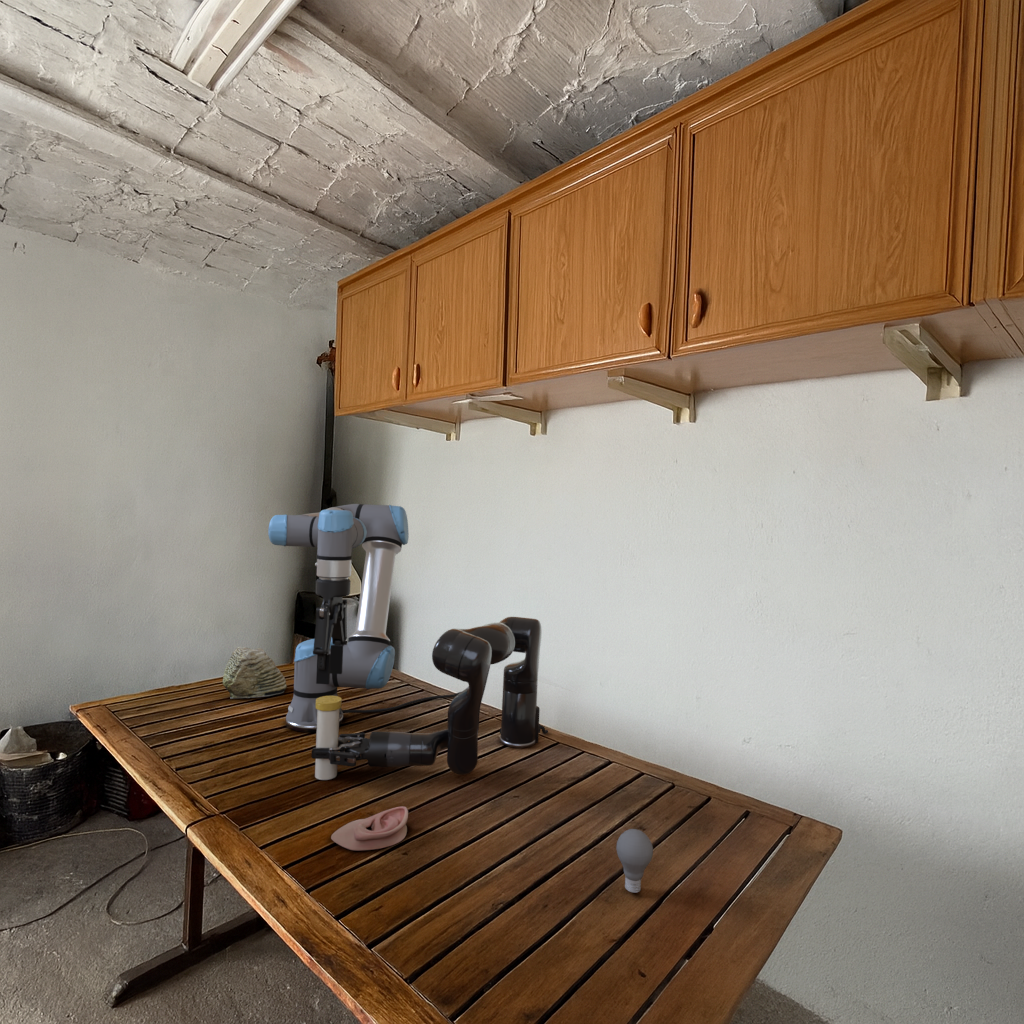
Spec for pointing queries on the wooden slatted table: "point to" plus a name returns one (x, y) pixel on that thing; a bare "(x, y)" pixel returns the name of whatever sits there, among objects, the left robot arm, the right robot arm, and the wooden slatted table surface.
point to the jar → (326, 742)
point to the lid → (328, 703)
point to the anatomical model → (374, 830)
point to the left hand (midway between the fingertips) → (329, 678)
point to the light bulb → (634, 857)
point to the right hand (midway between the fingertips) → (315, 748)
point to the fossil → (252, 674)
